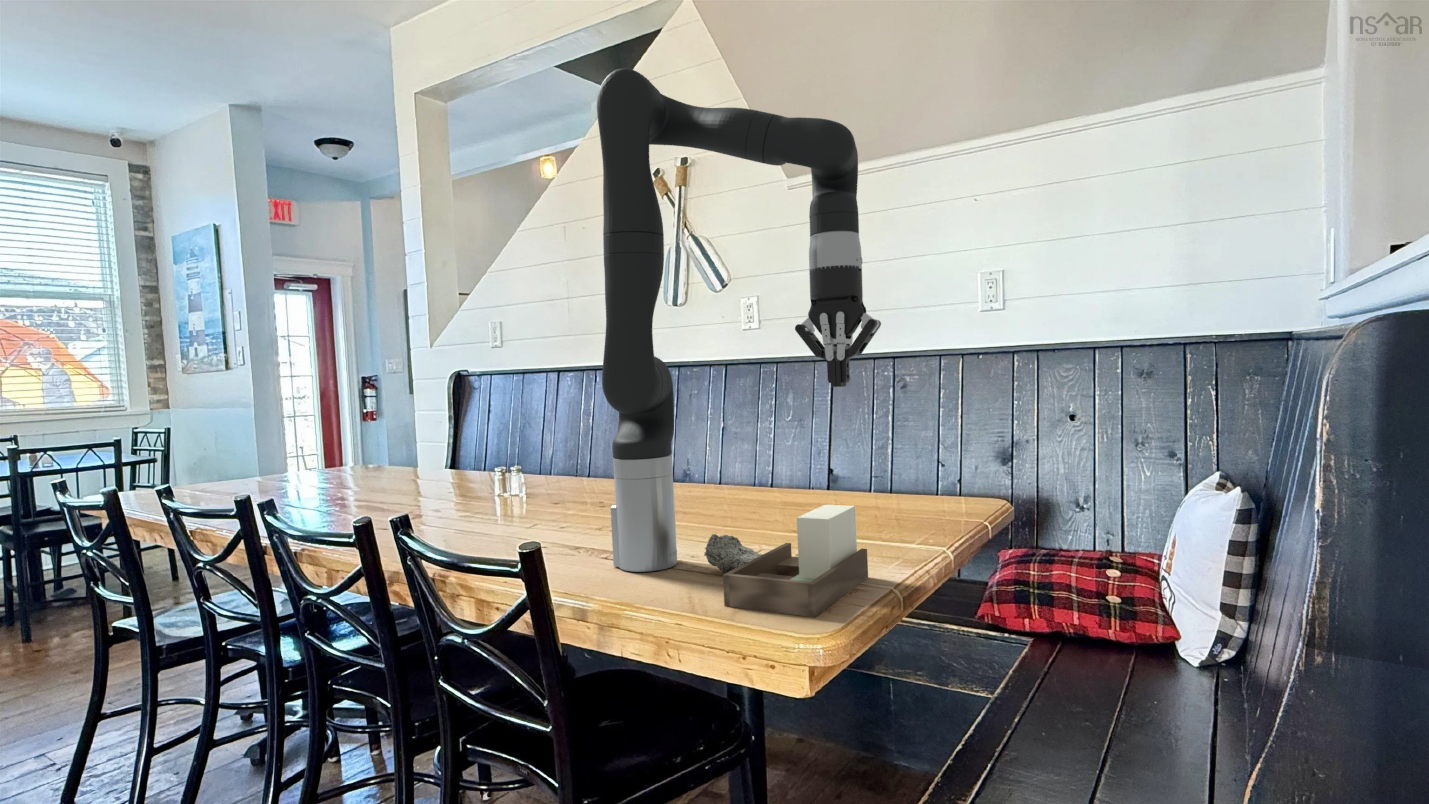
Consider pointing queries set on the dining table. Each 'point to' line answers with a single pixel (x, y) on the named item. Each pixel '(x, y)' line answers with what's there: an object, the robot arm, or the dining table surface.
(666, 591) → the dining table surface
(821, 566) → the brick
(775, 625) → the dining table surface
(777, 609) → the box
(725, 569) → the rock sample
